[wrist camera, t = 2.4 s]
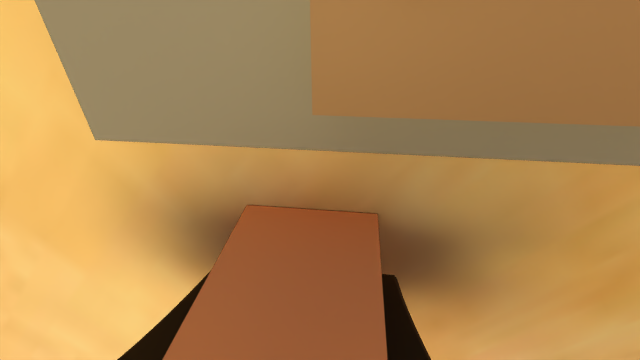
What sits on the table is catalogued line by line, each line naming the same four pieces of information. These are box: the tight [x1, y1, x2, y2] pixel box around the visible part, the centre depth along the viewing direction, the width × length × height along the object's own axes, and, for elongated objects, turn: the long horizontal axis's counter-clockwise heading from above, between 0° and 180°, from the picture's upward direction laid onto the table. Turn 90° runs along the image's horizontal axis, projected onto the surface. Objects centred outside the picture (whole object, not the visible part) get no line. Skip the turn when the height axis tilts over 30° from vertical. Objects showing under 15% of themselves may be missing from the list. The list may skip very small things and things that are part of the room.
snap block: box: [163, 205, 387, 360], centre depth 9 cm, size 4×4×7 cm
